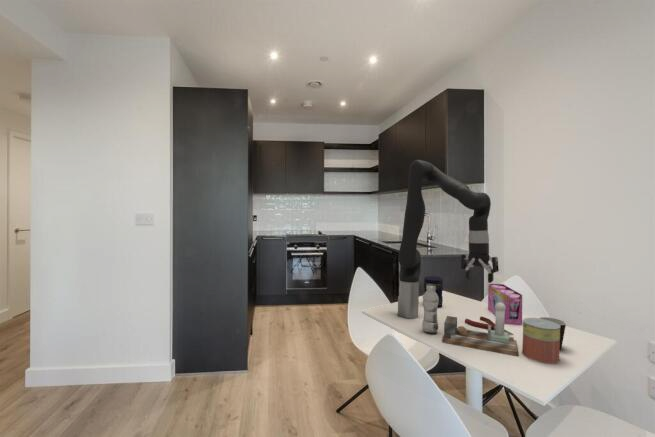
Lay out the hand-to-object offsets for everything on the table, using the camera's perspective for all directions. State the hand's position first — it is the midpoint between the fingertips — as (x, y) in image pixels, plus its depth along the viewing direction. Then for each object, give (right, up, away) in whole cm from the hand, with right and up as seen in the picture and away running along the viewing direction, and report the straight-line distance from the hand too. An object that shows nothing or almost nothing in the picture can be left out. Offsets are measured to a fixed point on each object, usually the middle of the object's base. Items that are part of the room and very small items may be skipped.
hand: (479, 280), depth 134 cm
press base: (-3, -23, -6) cm, 24 cm away
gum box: (+25, -23, +27) cm, 43 cm away
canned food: (+14, -24, -16) cm, 32 cm away
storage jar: (-5, -22, +44) cm, 49 cm away
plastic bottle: (-18, -23, +6) cm, 30 cm away
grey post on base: (+3, -22, -9) cm, 24 cm away
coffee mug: (+24, -24, -7) cm, 35 cm away
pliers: (+8, -24, +11) cm, 27 cm away
